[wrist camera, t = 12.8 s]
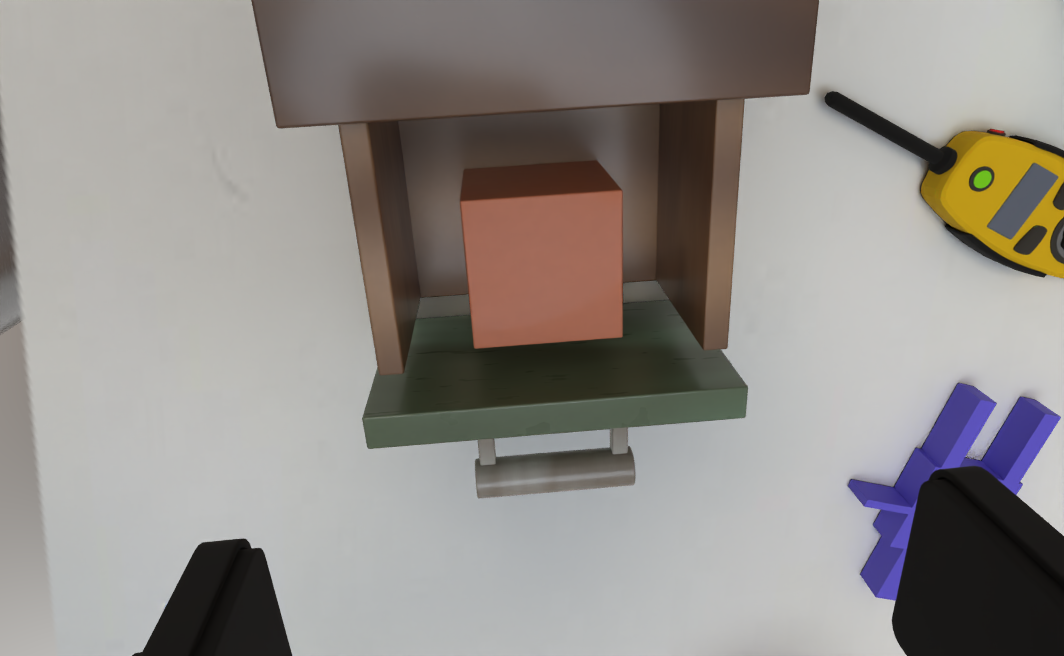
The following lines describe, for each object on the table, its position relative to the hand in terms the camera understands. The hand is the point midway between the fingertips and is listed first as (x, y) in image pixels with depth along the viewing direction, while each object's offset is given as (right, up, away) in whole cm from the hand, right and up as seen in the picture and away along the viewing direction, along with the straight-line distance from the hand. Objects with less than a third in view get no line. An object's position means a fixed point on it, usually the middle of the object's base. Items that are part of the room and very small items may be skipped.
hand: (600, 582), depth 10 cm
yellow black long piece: (+17, +10, +19) cm, 28 cm away
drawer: (-1, +7, +18) cm, 19 cm away
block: (-1, +7, +17) cm, 18 cm away
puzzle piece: (+20, -5, +26) cm, 33 cm away
